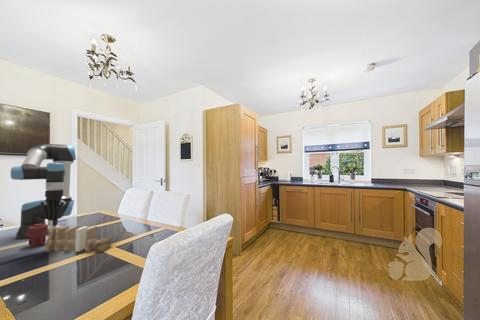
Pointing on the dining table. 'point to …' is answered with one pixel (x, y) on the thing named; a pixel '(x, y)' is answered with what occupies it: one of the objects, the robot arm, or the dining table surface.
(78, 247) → the domino
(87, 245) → the domino
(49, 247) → the domino
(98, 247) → the stop block
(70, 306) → the dining table surface
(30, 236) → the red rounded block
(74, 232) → the domino
